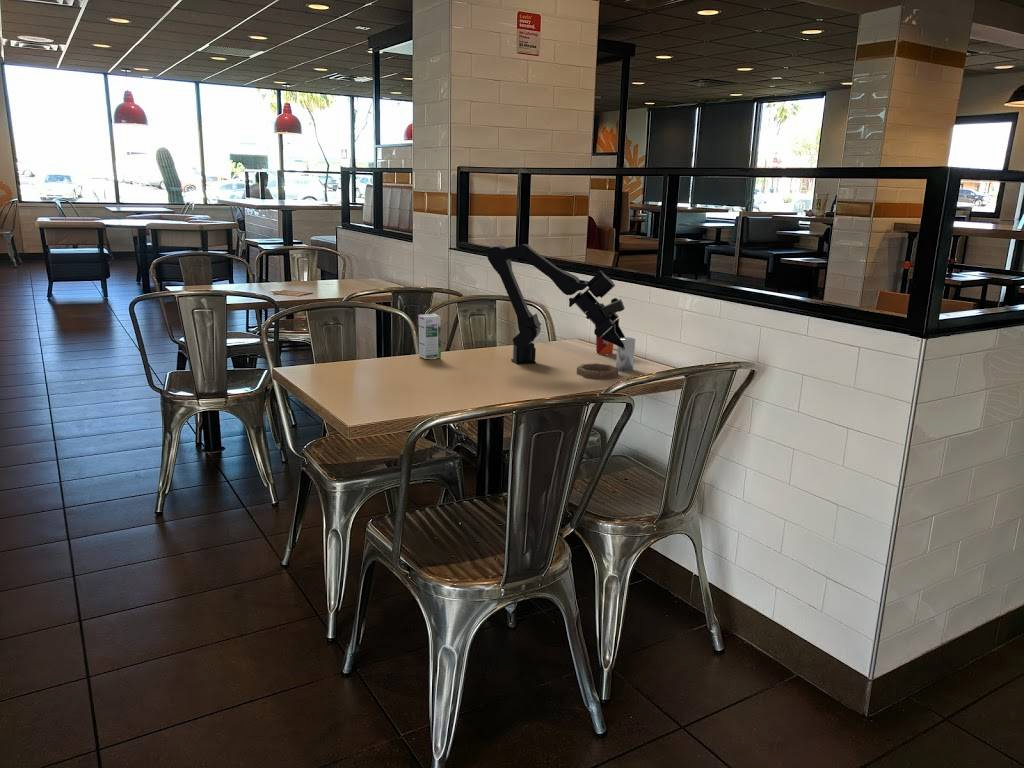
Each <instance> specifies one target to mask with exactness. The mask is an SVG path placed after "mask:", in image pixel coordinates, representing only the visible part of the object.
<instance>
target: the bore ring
mask: <svg viewBox="0 0 1024 768" xmlns="http://www.w3.org/2000/svg"><path fill="white" fill-rule="evenodd" d="M576 375H578V376H580V375H581V376H580V377H582V376H583V378H586V379H587V378H589V379H595V380H603V379H614V378H616V377H617V376H618V375H619V371H618V368H616V366H614V365H611V364H605V363H596V362H595V363H593V362H592V363H581V364H580V365H578V366H577V367H576Z"/></svg>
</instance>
